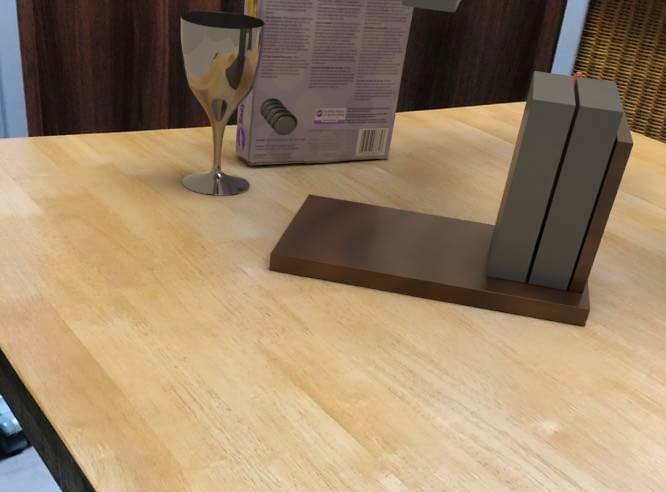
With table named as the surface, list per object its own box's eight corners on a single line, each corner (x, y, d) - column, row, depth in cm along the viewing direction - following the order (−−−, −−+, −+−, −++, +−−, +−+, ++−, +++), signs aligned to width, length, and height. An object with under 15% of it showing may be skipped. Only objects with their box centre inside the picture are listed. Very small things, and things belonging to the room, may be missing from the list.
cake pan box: (378, 146, 105) (404, -25, 94) (398, 159, 102) (428, -17, 90) (231, 154, 99) (241, -29, 87) (248, 169, 95) (260, -20, 84)
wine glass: (194, 199, 87) (198, 29, 77) (167, 173, 92) (168, 10, 82) (265, 193, 90) (278, 28, 80) (236, 168, 95) (244, 11, 85)
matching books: (564, 247, 80) (616, 82, 71) (566, 290, 73) (624, 111, 64) (492, 235, 81) (534, 70, 72) (486, 276, 74) (532, 98, 65)
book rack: (579, 254, 83) (628, 103, 74) (584, 326, 71) (644, 155, 63) (307, 209, 87) (323, 59, 78) (269, 269, 75) (283, 101, 66)
